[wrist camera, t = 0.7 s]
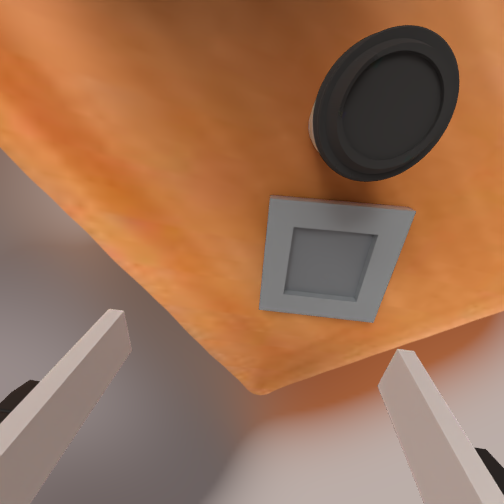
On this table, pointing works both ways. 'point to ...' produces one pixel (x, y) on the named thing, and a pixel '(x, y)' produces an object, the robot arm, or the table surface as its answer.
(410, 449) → the robot arm
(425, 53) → the coffee cup
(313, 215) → the frame
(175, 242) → the table surface
